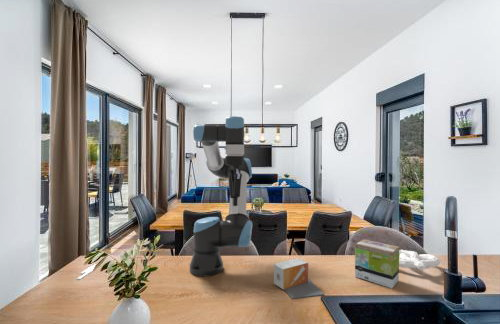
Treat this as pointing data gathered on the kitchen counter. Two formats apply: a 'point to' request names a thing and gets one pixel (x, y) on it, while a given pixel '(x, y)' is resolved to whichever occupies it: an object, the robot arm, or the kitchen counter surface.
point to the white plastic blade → (86, 272)
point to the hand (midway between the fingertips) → (234, 213)
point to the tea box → (377, 262)
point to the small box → (290, 273)
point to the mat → (304, 290)
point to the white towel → (417, 260)
